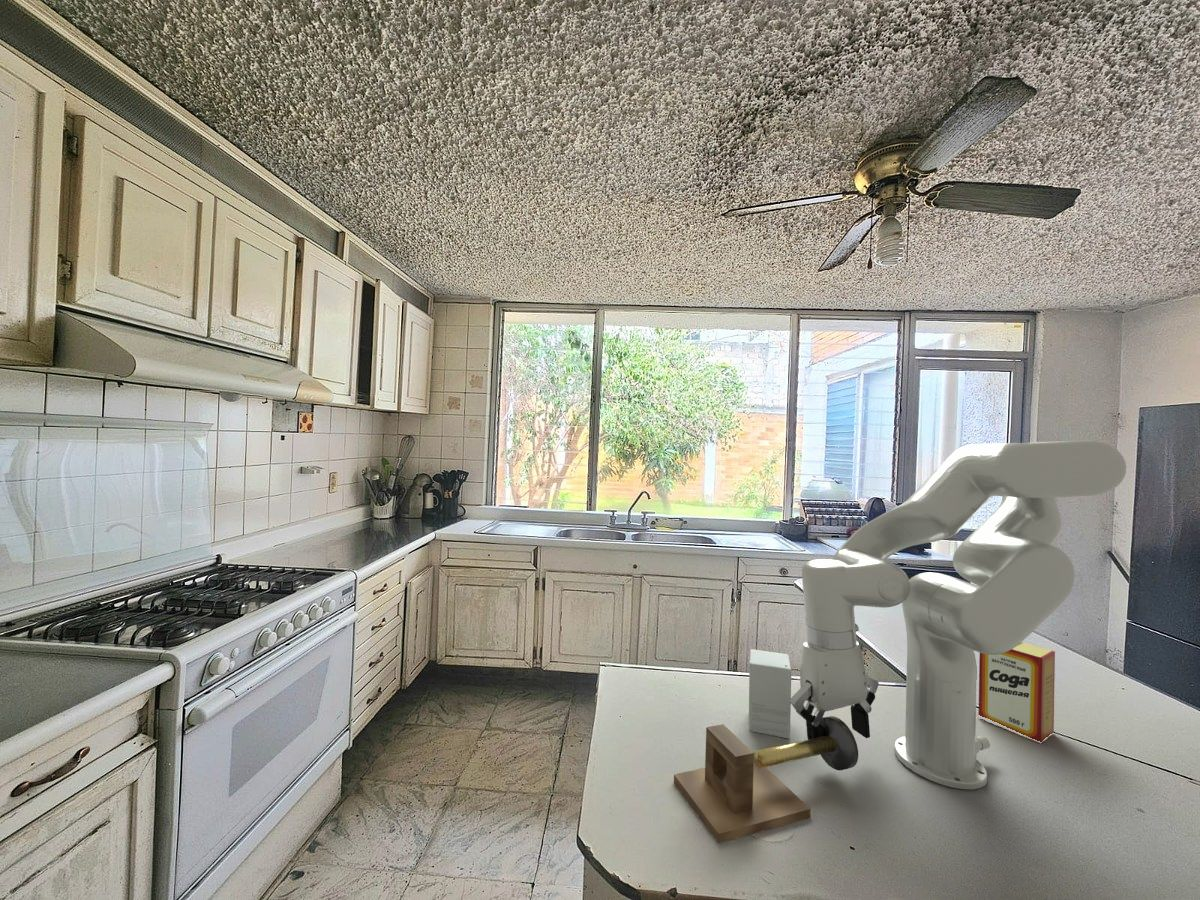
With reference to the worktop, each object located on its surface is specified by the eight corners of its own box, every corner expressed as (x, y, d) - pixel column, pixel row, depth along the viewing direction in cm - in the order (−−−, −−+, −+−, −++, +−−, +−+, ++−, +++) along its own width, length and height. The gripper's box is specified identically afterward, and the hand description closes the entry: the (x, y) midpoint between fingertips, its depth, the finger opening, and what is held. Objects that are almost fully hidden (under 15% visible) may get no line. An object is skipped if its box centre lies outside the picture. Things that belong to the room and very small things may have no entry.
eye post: (755, 764, 77) (756, 708, 78) (810, 817, 66) (811, 752, 66) (673, 782, 72) (675, 723, 73) (718, 843, 61) (720, 773, 61)
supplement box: (788, 719, 91) (789, 653, 92) (790, 740, 84) (792, 669, 85) (748, 711, 94) (750, 647, 94) (747, 731, 87) (749, 662, 87)
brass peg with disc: (825, 749, 79) (827, 706, 79) (862, 777, 72) (863, 730, 73) (742, 768, 74) (743, 722, 74) (773, 800, 67) (774, 749, 67)
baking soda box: (1053, 734, 89) (1054, 649, 90) (1040, 744, 86) (1042, 655, 86) (992, 710, 97) (993, 632, 98) (978, 718, 94) (979, 638, 94)
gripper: (855, 619, 85) (862, 716, 85) (772, 636, 80) (780, 739, 80) (891, 634, 78) (899, 740, 77) (802, 653, 73) (811, 766, 73)
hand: (839, 739), depth 79 cm, fingers open, 8 cm apart
